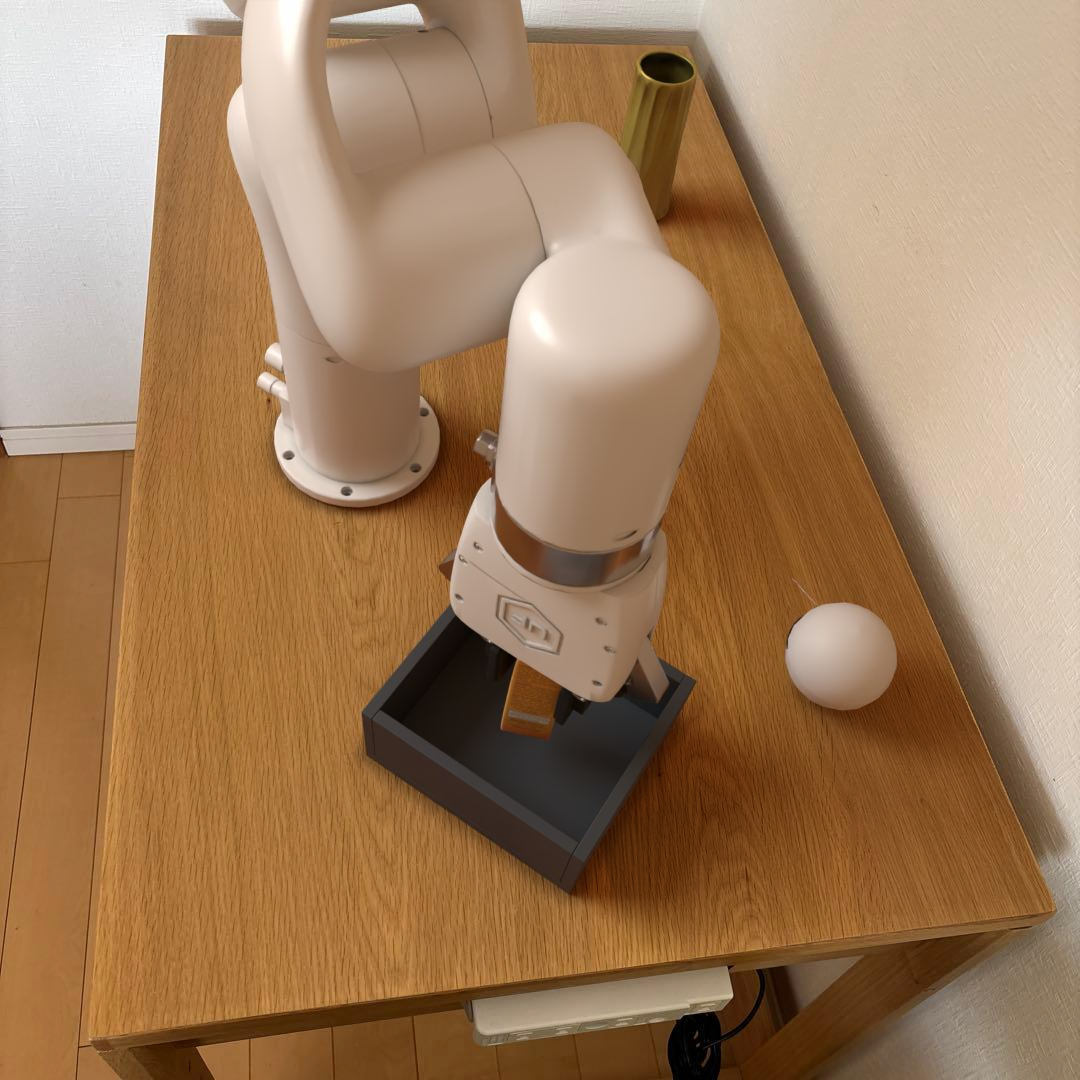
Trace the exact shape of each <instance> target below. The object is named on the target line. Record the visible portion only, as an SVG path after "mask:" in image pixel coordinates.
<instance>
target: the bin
mask: <svg viewBox="0 0 1080 1080" xmlns="http://www.w3.org/2000/svg"><path fill="white" fill-rule="evenodd" d="M485 651H486V641H485V640H484V639H482V637H481V636H480V635H479V633H477V632H476V631H474V630H473V629H471V628H470V627H469V626H467V625H466V624H465V623H464V622H463V621H461V620H460V619H459V617H458V616H457V615H456V614H455V613H454V611H453V608H452V606H451V603H449V604H448V606H447V607H446V608H445V610H444V611H443V612H442V613H441V615H440V616H439V617H438V618H437V619H436V620H435V622H434V623H433V624H432V625H431V626H430V627H429V629H428V630H427V632H426V633H425V634H424V635H423V636H422V637H421V638H420V640H419V641H418V642H417V644H416V645H415V646H414V647H413V648H412V650H410V652H409V653H408V655H406V657H405V658H404V659H403V660H402V662H401V663H400V664H399V665H398V666H397V668H396V669H394V671H393V672H392V674H391V675H390V676H389V677H388V678H387V680H386V681H385V682H384V684H383V685H382V686H381V687H380V688H379V689H378V691H377V692H376V693H375V695H374V696H373V697H372V698H371V700H370V701H369V702H368V703H367V704H366V705H365V707H363V709H362V710H361V712H360V714H361V721H362V729H363V730H362V731H363V739H364V747H365V756H366V757H368V758H370V759H371V760H372V761H374V762H375V763H377V764H378V765H379V766H381V767H383V768H384V769H385V770H387V771H389V772H390V773H391V774H393V775H395V777H397V778H398V779H400V780H401V781H403V782H405V783H406V784H408V785H409V786H410V787H412V789H415V790H416V791H417V792H419V793H421V794H422V795H423V796H425V797H426V798H427V799H429V800H431V801H432V802H433V803H435V804H437V805H438V806H439V807H441V808H443V810H445V811H447V812H448V813H450V814H451V815H453V816H454V817H455V818H457V819H458V820H460V821H461V822H463V823H464V824H465V825H467V826H468V827H470V828H472V829H473V830H475V831H476V832H477V833H478V834H480V835H481V836H483V837H485V838H486V839H488V840H489V841H490V842H492V843H493V844H495V845H497V846H498V847H499V848H501V849H502V850H504V851H505V852H507V853H508V854H510V855H511V856H512V857H514V858H515V859H516V860H518V861H519V862H521V863H523V864H524V865H526V866H527V867H528V868H529V869H531V870H533V871H534V872H536V873H537V874H539V875H540V876H541V877H543V878H545V879H546V880H547V881H549V882H550V883H552V884H554V885H555V886H556V887H558V888H559V889H560V890H562V891H563V892H565V893H566V894H571V892H572V891H573V889H574V887H575V885H576V884H577V882H578V881H579V879H580V877H581V876H582V875H583V872H584V871H585V869H586V868H587V866H588V864H589V863H590V861H591V860H592V858H593V856H594V855H595V853H596V851H597V850H598V848H599V847H600V846H601V843H602V842H603V840H604V839H605V837H606V835H607V834H608V832H609V830H610V829H611V827H612V826H613V824H614V822H615V821H616V819H617V818H618V816H619V815H620V813H621V811H622V810H623V808H624V806H625V805H626V803H627V801H628V800H629V798H630V797H631V796H632V793H633V791H634V790H635V788H636V787H637V785H638V783H639V782H640V780H641V779H642V777H643V776H644V774H645V772H646V770H647V769H648V767H649V766H650V764H651V762H652V761H653V759H654V758H655V756H656V754H657V753H658V751H659V749H660V747H661V746H662V745H663V743H664V742H665V740H666V739H667V736H668V735H669V733H670V732H671V730H672V729H673V727H674V726H675V723H676V721H677V719H678V718H679V716H680V714H681V712H682V710H683V708H684V707H685V704H686V703H687V701H688V699H689V697H690V696H691V693H692V692H693V690H694V688H695V686H696V685H697V682H698V681H697V680H696V679H695V678H693V677H692V676H690V675H688V674H686V673H685V672H684V671H682V670H680V669H679V668H677V667H675V666H673V665H671V664H670V663H669V662H668V661H665V660H663V659H662V658H660V657H659V656H657V658H658V660H659V662H660V664H661V666H662V668H663V670H664V673H665V675H666V677H667V679H668V681H669V684H670V685H669V686H668V688H667V690H666V691H665V693H664V694H663V696H662V697H661V699H660V701H659V702H658V703H657V704H653V703H649V702H645V701H642V700H638V699H634V698H630V696H629V695H628V694H624V695H623V696H622V697H621V698H617V697H613V698H612V699H611V700H610V701H607V702H595V701H592V702H591V704H590V705H589V707H588V708H587V710H586V711H585V712H584V714H583V715H581V714H579V713H578V712H576V711H575V710H573V712H572V713H571V715H570V716H569V718H568V719H567V720H566V722H565V723H564V725H563V726H561V725H560V724H558V723H557V722H554V725H553V728H552V732H551V736H550V739H549V740H543V739H539V738H534V737H529V736H525V735H520V734H515V733H511V732H506V731H502V730H501V721H502V716H503V712H504V707H505V703H506V699H507V694H508V690H509V686H510V681H511V676H512V673H513V669H514V666H515V662H516V660H515V661H514V662H513V664H512V665H511V666H510V668H509V669H508V670H507V672H506V673H505V674H504V676H503V677H502V678H501V680H500V681H499V682H497V681H495V682H492V681H491V680H489V679H488V678H487V669H488V661H489V656H488V655H486V654H485ZM516 659H517V658H516Z"/></svg>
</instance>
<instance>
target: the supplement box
mask: <svg viewBox="0 0 1080 1080" xmlns="http://www.w3.org/2000/svg"><path fill="white" fill-rule="evenodd" d="M562 687H563V686H561V685H559V684H558V683H556V682H555V681H553V680H551V679H550V678H548V677H546V676H545V675H543V674H542V673H540V672H538V671H537V670H535V669H533V668H532V667H530V666H529V665H527V664H525V663H524V662H522V661H521V660H519V659H518V658H517V659H516V662H515V666H514V669H513V673H512V676H511V681H510V686H509V690H508V694H507V699H506V703H505V707H504V712H503V716H502V721H501V730H502V731H506V732H511V733H515V734H520V735H525V736H529V737H534V738H539V739H543V740H549V739H550V736H551V732H552V728H553V725H554V722H555V718H553V715H554V711H555V707H556V703H557V700H558V696H559V693H560V691H561V689H562Z"/></svg>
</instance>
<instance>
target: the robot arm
mask: <svg viewBox="0 0 1080 1080" xmlns="http://www.w3.org/2000/svg"><path fill="white" fill-rule="evenodd" d="M222 2H223V3H224V5H225V6H226V7H227V8H228V10H229V11H230V12H231V13H232V14H233V15H235V16H236V17H237V18H238V19H240V20H242V23H243V24H242V31H241V32H242V33H241V54H240V55H241V57H240V65H241V66H240V67H241V68H240V69H241V83H240V85H239V86H238V87H237V89H236V90H235V92H234V94H233V95H232V97H231V99H230V101H229V104H228V107H227V115H226V132H227V137H228V143H229V144H228V145H229V148H230V152H231V156H232V160H233V163H234V167H235V169H236V172H237V174H238V177H239V180H240V183H241V185H242V188H243V191H244V194H245V197H246V199H247V202H248V205H249V208H250V211H251V213H252V217H253V219H254V222H255V226H256V230H257V233H258V235H259V240H260V245H261V248H262V252H263V256H264V261H265V266H266V270H267V271H266V272H267V277H268V282H269V289H270V294H271V301H272V306H273V311H274V317H275V323H276V331H277V336H278V341H277V342H273V343H272V344H270V345H269V347H268V348H267V350H266V351H265V354H264V362H265V364H266V365H267V366H269V367H271V368H273V369H275V370H276V371H278V372H280V373H281V374H283V375H284V380H285V382H284V381H282V380H281V379H280V378H279V377H277V376H275V374H272V373H271V372H268V371H263V372H262V373H261V374H260V375H259V377H258V378H257V381H256V386H257V387H258V388H259V389H260V390H262V391H264V392H266V393H267V394H268V395H271V396H274V397H275V398H277V399H278V402H279V404H280V410H281V411H280V413H279V415H278V417H277V419H276V424H275V427H274V432H273V434H274V435H273V436H274V437H273V438H274V439H273V441H274V442H273V445H274V449H275V455H276V459H277V461H278V463H279V466H280V468H281V471H282V472H283V473H284V475H285V476H286V478H287V479H288V480H289V481H290V482H291V483H292V484H293V485H294V486H295V487H296V489H298V490H299V491H301V492H302V493H304V494H306V495H307V496H309V497H310V498H312V499H314V500H318V501H320V502H322V503H325V504H329V505H334V506H337V507H338V506H339V507H345V508H366V507H376V506H379V505H383V504H387V503H390V502H393V501H395V500H397V499H400V498H402V497H404V496H406V495H407V494H409V493H410V492H412V491H414V490H415V489H416V488H418V487H419V486H420V485H421V484H422V483H423V482H424V481H425V480H426V478H427V477H428V476H429V474H430V473H431V472H432V470H433V468H434V467H435V464H436V462H437V459H438V457H439V451H440V444H441V437H440V436H441V434H440V426H439V421H438V418H437V416H436V413H435V411H434V410H433V408H432V406H431V405H430V404H429V402H428V401H427V400H426V398H425V397H424V396H422V395H421V366H424V365H427V364H430V363H433V362H437V361H440V360H442V359H443V360H444V359H446V358H450V357H452V356H455V355H458V354H461V353H465V352H468V351H470V350H474V349H476V348H480V347H483V346H486V345H489V344H492V343H495V342H498V341H501V340H504V339H507V343H506V344H507V346H506V357H505V366H504V375H503V376H504V377H503V385H502V386H503V387H502V397H501V407H500V416H499V417H500V418H499V427H498V433H497V432H496V431H495V430H492V429H491V428H489V427H487V428H485V429H483V430H482V431H481V433H480V434H479V435H478V437H477V438H476V440H475V443H474V445H473V449H472V452H473V454H474V455H475V456H477V457H479V458H480V459H482V460H483V461H484V463H485V465H486V466H488V470H489V471H490V472H491V477H490V478H488V479H487V480H486V481H485V482H484V483H483V484H482V486H481V487H480V488H479V490H478V491H477V493H476V495H475V498H474V499H473V501H472V504H471V505H470V509H469V510H468V514H467V516H466V519H465V521H464V525H463V527H462V528H463V529H462V532H461V534H460V538H459V541H458V543H457V547H456V548H454V549H452V550H450V552H449V553H448V554H447V555H446V556H445V558H444V559H442V560H441V562H440V564H438V567H437V568H438V570H439V572H440V573H441V574H442V575H443V576H444V577H445V578H446V580H447V581H449V582H450V583H449V599H450V604H451V606H452V608H453V611H454V613H455V614H456V615H457V616H458V617H459V619H460V620H461V621H463V622H464V623H465V624H466V625H467V626H469V627H470V628H471V629H473V630H474V631H476V632H477V633H479V635H480V636H481V637H482V639H484V640H485V641H486V651H485V654H486V655H488V656H489V661H488V669H487V678H488V679H489V680H491V681H492V682H495V681H497V682H499V681H500V680H501V678H502V677H503V676H504V674H505V673H506V672H507V670H508V669H509V668H510V666H511V665H512V664H513V662H514V661H515V660H516V658H518V659H519V660H521V661H522V662H524V663H525V664H527V665H529V666H530V667H532V668H533V669H535V670H537V671H538V672H540V673H542V674H543V675H545V676H546V677H548V678H550V679H551V680H553V681H555V682H556V683H558V684H559V685H561V686H563V687H562V689H561V691H560V693H559V696H558V700H557V703H556V707H555V711H554V715H553V718H555V722H557V723H558V724H560V725H561V726H563V725H564V723H565V722H566V720H567V719H568V718H569V716H570V715H571V713H572V712H573V710H575V711H576V712H578V713H579V714H581V715H583V714H584V712H585V711H586V710H587V708H588V707H589V705H590V704H591V702H592V701H595V702H607V701H610V700H611V699H612V698H613V697H617V698H621V697H622V696H623V695H624V694H628V695H629V696H630V698H634V699H638V700H642V701H645V702H649V703H653V704H657V703H658V702H659V701H660V699H661V697H662V696H663V694H664V693H665V691H666V690H667V688H668V686H669V685H670V684H669V681H668V679H667V677H666V675H665V673H664V670H663V668H662V666H661V664H660V662H659V660H658V658H657V657H658V656H657V653H656V651H655V649H654V647H653V645H652V643H651V641H652V639H653V637H654V635H655V632H656V629H657V626H658V623H659V620H660V616H661V611H662V608H663V602H664V598H665V593H666V585H667V576H668V542H667V541H668V540H667V534H666V533H665V531H664V530H663V529H662V528H661V526H662V523H663V520H664V517H665V516H666V515H665V514H666V511H667V509H668V507H669V506H668V505H669V502H670V499H671V496H672V494H673V491H674V488H675V484H676V482H677V479H678V476H679V473H680V471H681V468H682V465H683V462H684V459H685V456H686V453H687V449H688V447H689V444H690V441H691V438H692V436H693V433H694V430H695V428H696V425H697V421H698V418H699V416H700V413H701V409H702V407H703V404H704V401H705V398H706V396H707V392H708V391H709V387H710V384H711V382H712V378H713V375H714V372H715V369H716V365H717V363H718V359H719V355H720V349H721V325H720V320H719V314H718V310H717V308H716V306H715V303H714V301H713V298H712V297H711V296H710V294H709V292H708V290H707V289H706V287H705V286H704V284H703V283H702V281H700V280H699V278H698V277H697V276H696V275H695V274H694V273H693V272H692V271H691V270H690V269H688V268H687V267H686V266H684V265H683V264H682V263H680V262H679V261H677V260H675V259H674V258H673V257H674V256H672V253H671V251H670V249H669V247H668V245H667V243H666V241H665V239H664V236H663V233H662V232H661V230H660V227H659V224H658V222H657V221H656V220H655V217H654V215H653V212H652V210H651V208H650V205H649V203H648V200H647V198H646V196H645V193H644V190H643V186H642V183H641V180H640V177H639V174H638V172H637V171H636V169H635V167H634V165H633V164H632V162H631V161H630V160H629V158H627V156H626V154H625V152H624V151H623V149H622V148H621V147H620V145H619V144H620V143H618V142H617V140H616V139H615V138H614V137H613V136H612V135H611V134H609V132H607V131H606V130H604V128H602V127H600V126H598V125H596V124H593V123H590V122H587V121H579V120H578V121H577V120H576V121H575V120H574V121H560V122H555V123H549V124H545V125H540V126H539V114H538V113H539V112H538V102H537V96H536V95H537V94H536V88H535V82H534V75H533V67H532V63H531V57H530V50H529V45H528V39H527V38H528V37H527V32H526V26H525V19H524V13H523V5H522V1H521V0H222ZM405 5H414V6H415V7H416V8H417V10H418V12H419V14H420V16H421V18H422V19H421V20H422V22H423V24H424V27H425V29H421V30H416V31H410V32H407V33H402V34H397V35H391V36H387V37H383V38H382V37H381V38H377V39H366V40H362V41H358V42H353V43H348V44H344V45H339V46H334V47H330V48H329V47H328V46H327V45H328V35H329V28H330V24H331V20H332V19H333V20H334V19H338V18H343V17H348V16H354V15H359V14H363V13H369V12H373V11H378V10H379V11H380V10H383V9H389V8H393V7H399V6H405ZM327 47H328V48H327Z"/></svg>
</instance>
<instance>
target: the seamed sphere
mask: <svg viewBox="0 0 1080 1080" xmlns="http://www.w3.org/2000/svg"><path fill="white" fill-rule="evenodd" d="M791 580H793V581H794V582H795V584H796V585H797V586H798V587H799V588H800V590H802V591H803V593H804V594H806V596H807V597H808V598H809V599H810V600H811V601H812V603H813V604H814V605H815V606H816V605H817V603H816V602H815V601H814V600H813V599H812V597H811V596H809V594H808V593H807V592H806V591H805V590H804V589H803V588H802V587H801V585H800V584H799V583H798V582H797V580H795V579H794V578H792V577H791ZM785 644H786V645H785V652H784V653H785V654H784V660H785V661H784V662H785V666H786V668H787V671H788V675H789V677H790V680H791V681H792V683H793V684H794V685H795V687H796V689H797V690H798V691H799V692H800V693H801V694H802V695H803V696H804V697H805V698H806V699H807V700H808V701H810V702H812V703H814V704H817V705H818V706H820V707H823V708H826V709H832V710H837V711H851V710H852V711H853V710H858V709H860V708H862V707H865V706H867V705H868V704H871V703H873V702H875V701H876V700H877V699H880V697H881V696H882V695H883V694H884V693H885V692H886V691H887V690H888V688H889V687H890V685H891V683H892V681H893V679H894V675H895V673H896V669H897V667H898V655H897V646H896V642H895V640H894V637H893V635H892V631H891V630H890V629H889V627H888V626H887V625H886V623H885V622H884V621H883V619H882V618H880V617H879V616H878V615H876V613H874V612H873V611H872V610H870V609H867V608H865V607H864V606H861V605H859V604H856V603H851V602H846V601H845V602H832V603H823V604H821V605H818V606H816V607H814V608H811V609H810V610H808V611H807V612H806V613H805V614H803V615H802V616H800V617H798V619H797V620H796V621H795V622H794V623H793V624H792V626H791V628H790V629H789V631H788V635H787V638H786V643H785Z"/></svg>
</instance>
